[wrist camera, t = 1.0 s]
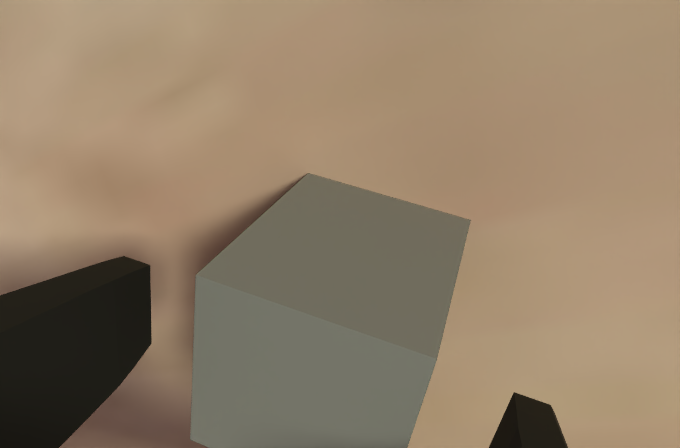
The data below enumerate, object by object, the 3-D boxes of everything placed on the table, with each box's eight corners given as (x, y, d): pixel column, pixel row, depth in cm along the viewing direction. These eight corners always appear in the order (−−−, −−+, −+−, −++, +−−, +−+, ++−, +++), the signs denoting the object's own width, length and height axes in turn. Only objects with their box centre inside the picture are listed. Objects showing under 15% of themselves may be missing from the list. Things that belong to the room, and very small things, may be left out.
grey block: (470, 219, 12) (436, 359, 8) (428, 350, 14) (382, 521, 9) (308, 172, 13) (195, 274, 8) (290, 302, 15) (190, 439, 10)
